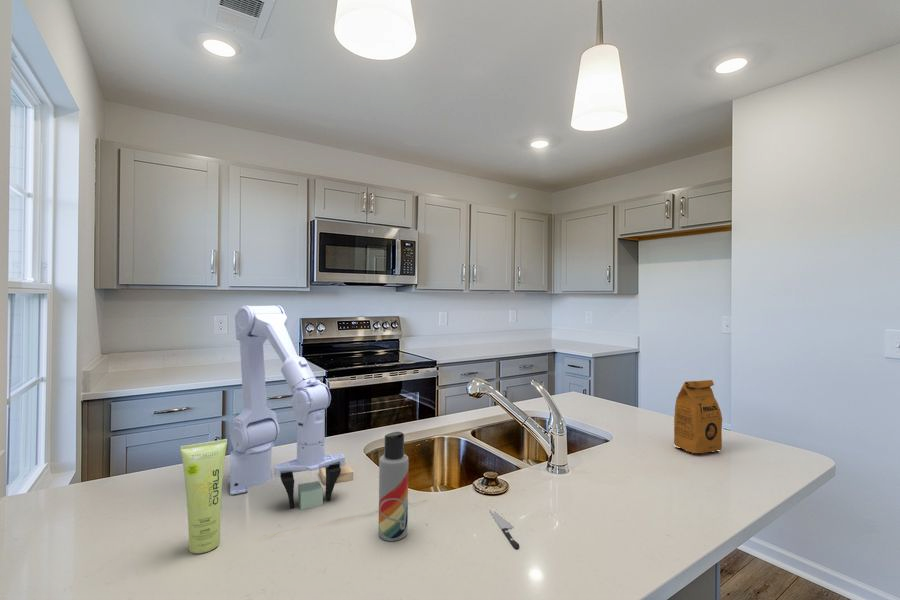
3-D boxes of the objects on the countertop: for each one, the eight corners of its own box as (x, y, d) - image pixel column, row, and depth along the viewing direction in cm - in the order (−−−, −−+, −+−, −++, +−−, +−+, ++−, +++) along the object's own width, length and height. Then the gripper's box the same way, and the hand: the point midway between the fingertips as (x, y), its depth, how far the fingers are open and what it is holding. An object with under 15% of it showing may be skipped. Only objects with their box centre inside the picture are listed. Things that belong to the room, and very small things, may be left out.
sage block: (300, 516, 91) (301, 493, 91) (297, 507, 95) (298, 484, 95) (322, 511, 93) (322, 488, 93) (318, 502, 97) (319, 480, 97)
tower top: (323, 485, 103) (324, 476, 103) (319, 474, 109) (319, 466, 109) (353, 479, 106) (353, 471, 106) (346, 469, 112) (346, 461, 112)
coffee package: (727, 455, 131) (729, 382, 130) (693, 458, 128) (695, 384, 127) (701, 443, 140) (702, 376, 140) (669, 446, 137) (670, 377, 137)
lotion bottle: (395, 545, 81) (396, 439, 81) (372, 535, 84) (373, 434, 84) (413, 531, 86) (414, 431, 86) (391, 523, 89) (392, 426, 89)
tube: (200, 559, 76) (201, 449, 76) (178, 553, 77) (179, 445, 77) (226, 541, 81) (227, 438, 81) (205, 536, 83) (206, 435, 83)
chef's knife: (494, 503, 99) (482, 503, 99) (495, 498, 99) (482, 498, 99) (529, 550, 81) (514, 551, 80) (529, 544, 81) (514, 545, 80)
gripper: (277, 451, 87) (276, 518, 87) (348, 441, 94) (347, 503, 94) (273, 441, 93) (273, 503, 93) (341, 432, 100) (340, 490, 100)
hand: (310, 502), depth 94 cm, fingers open, 7 cm apart
